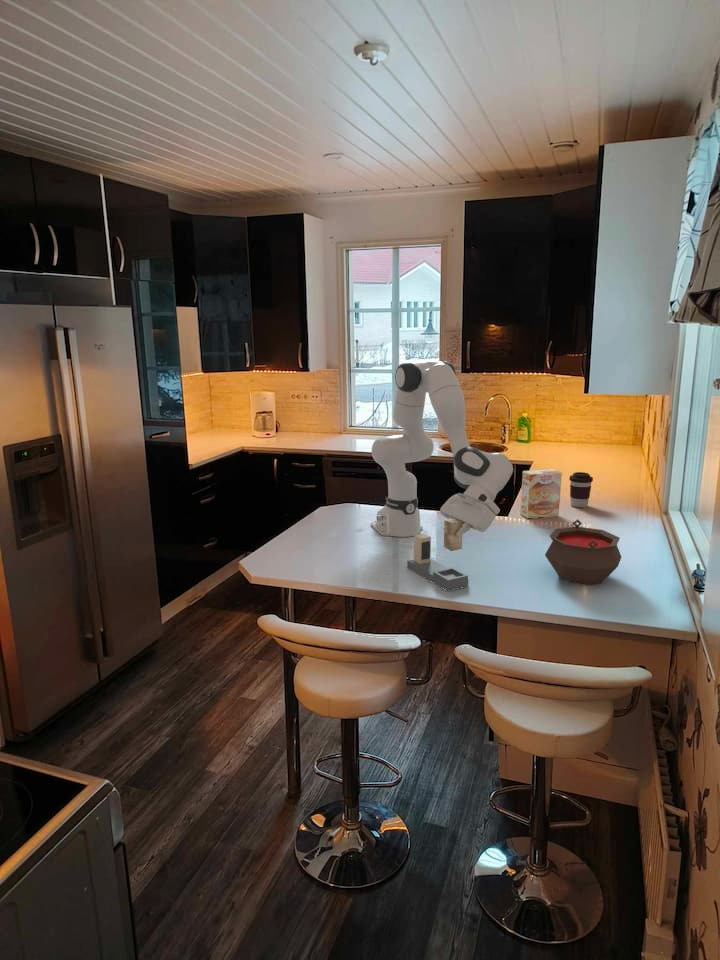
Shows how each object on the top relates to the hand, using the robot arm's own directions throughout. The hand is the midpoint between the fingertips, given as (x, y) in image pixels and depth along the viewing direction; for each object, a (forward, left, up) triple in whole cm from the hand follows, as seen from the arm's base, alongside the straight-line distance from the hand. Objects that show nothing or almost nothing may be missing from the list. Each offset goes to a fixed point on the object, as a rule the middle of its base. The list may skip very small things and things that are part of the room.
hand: (451, 533), depth 197 cm
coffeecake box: (-42, +78, -17) cm, 90 cm away
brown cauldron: (+16, +41, -17) cm, 47 cm away
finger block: (0, +1, -5) cm, 5 cm away
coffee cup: (-44, +104, -17) cm, 114 cm away
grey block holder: (-7, 0, -17) cm, 18 cm away
